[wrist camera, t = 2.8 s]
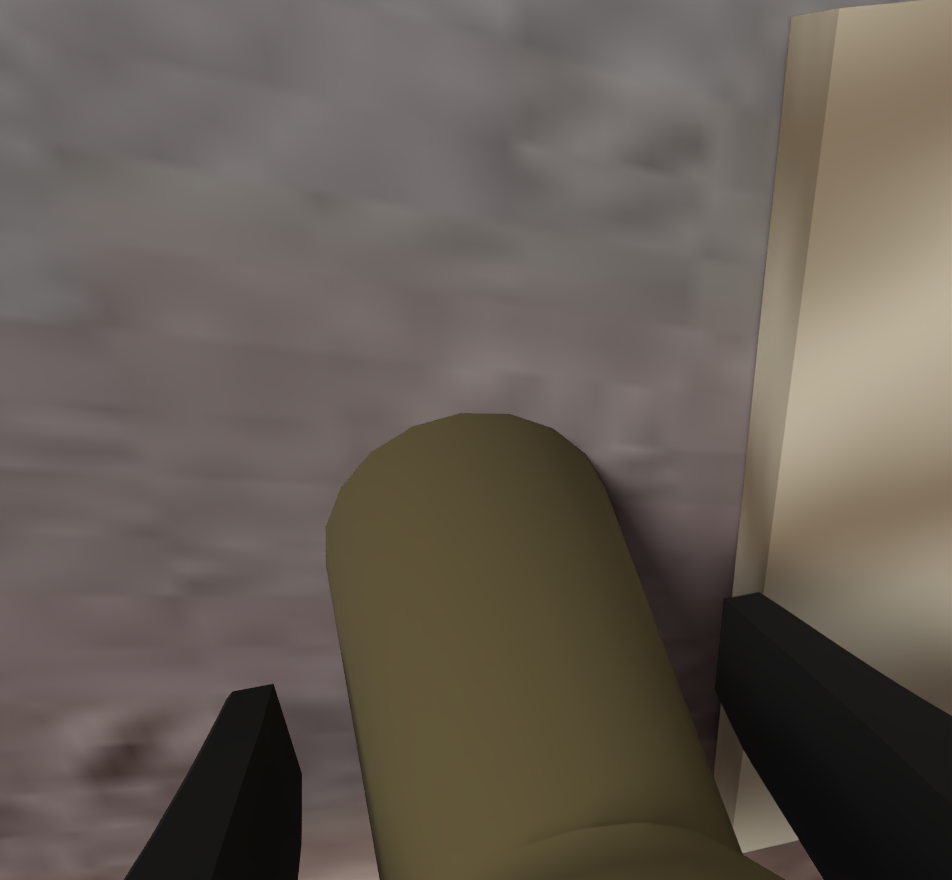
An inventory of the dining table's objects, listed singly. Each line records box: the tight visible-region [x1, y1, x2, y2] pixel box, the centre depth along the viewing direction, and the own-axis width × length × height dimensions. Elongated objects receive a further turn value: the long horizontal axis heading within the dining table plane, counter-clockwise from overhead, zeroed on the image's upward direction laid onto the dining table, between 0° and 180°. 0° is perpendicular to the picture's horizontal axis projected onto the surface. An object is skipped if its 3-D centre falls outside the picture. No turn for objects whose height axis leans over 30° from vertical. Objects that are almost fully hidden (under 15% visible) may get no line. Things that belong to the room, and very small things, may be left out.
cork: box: [326, 413, 785, 880], centre depth 10 cm, size 6×6×11 cm
